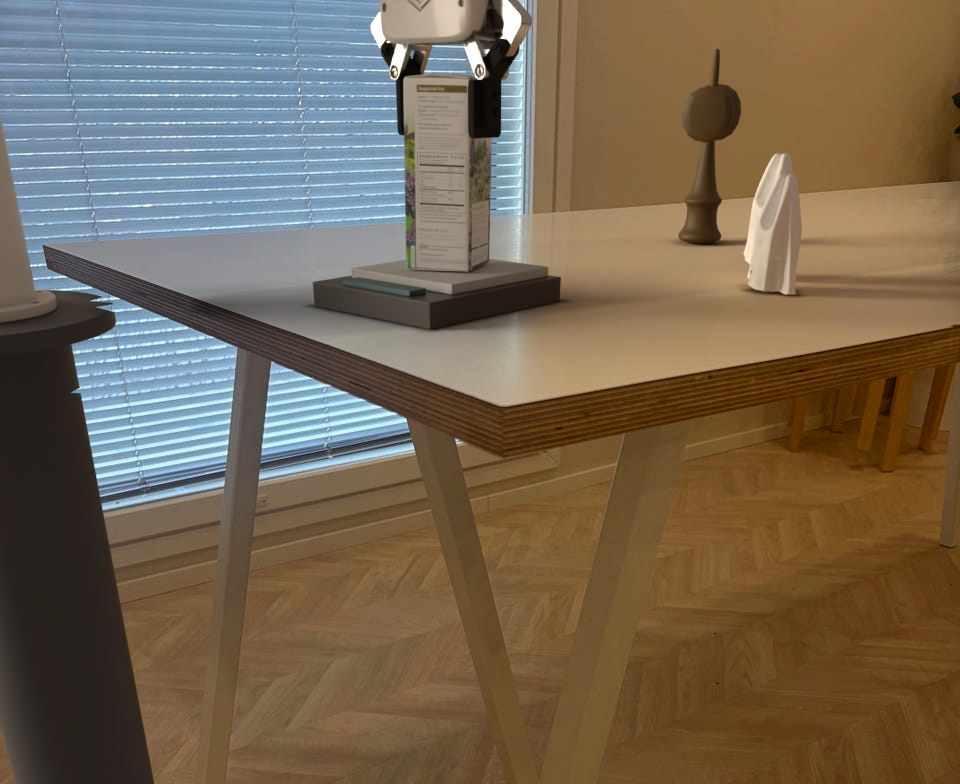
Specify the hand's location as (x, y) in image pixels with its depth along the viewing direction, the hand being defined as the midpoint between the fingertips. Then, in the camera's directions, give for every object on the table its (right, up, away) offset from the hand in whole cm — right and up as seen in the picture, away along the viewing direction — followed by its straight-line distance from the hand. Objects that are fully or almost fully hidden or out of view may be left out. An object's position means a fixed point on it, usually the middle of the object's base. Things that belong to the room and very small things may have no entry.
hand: (448, 134), depth 83 cm
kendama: (+29, +6, +39) cm, 49 cm away
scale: (-1, -12, +5) cm, 13 cm away
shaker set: (+30, -7, +14) cm, 34 cm away
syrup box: (0, -9, +5) cm, 10 cm away
